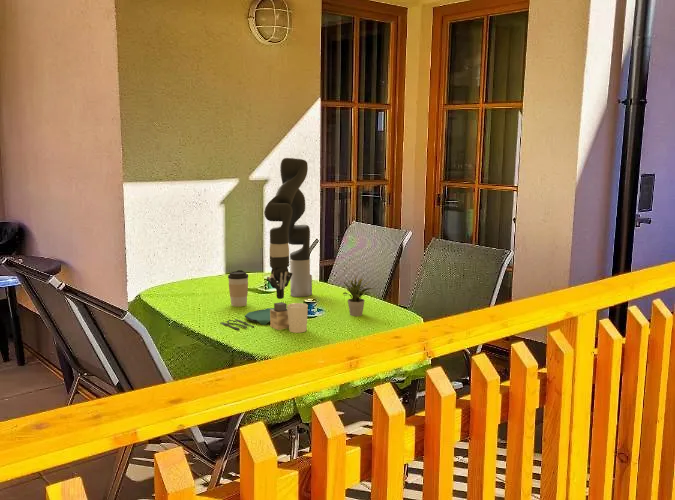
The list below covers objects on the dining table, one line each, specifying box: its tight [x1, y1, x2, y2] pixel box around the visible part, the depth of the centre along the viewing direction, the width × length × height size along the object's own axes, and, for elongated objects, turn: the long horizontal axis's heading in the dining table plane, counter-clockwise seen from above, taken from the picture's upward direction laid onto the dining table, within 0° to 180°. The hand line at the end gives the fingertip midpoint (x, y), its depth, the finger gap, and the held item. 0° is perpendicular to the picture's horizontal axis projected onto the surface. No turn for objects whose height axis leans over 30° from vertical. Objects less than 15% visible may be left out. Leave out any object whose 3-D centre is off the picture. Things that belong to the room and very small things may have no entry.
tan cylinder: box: [287, 302, 309, 334], centre depth 269 cm, size 8×8×10 cm
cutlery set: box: [220, 307, 274, 331], centre depth 285 cm, size 20×30×2 cm, turn 127°
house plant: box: [341, 277, 374, 317], centre depth 291 cm, size 14×14×16 cm
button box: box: [269, 309, 289, 331], centre depth 274 cm, size 6×6×7 cm
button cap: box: [273, 301, 288, 311], centre depth 274 cm, size 4×4×2 cm
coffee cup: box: [227, 269, 249, 307], centre depth 310 cm, size 9×9×15 cm
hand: (280, 298), depth 273 cm, fingers closed
